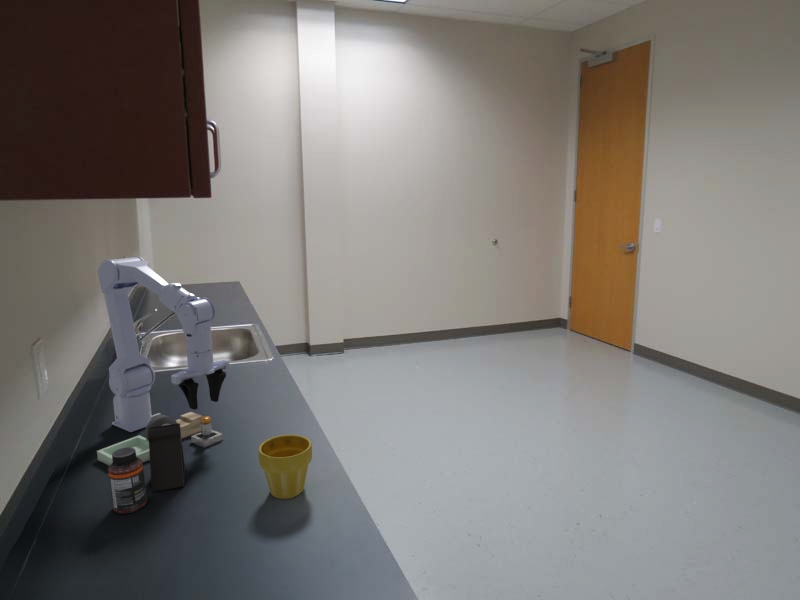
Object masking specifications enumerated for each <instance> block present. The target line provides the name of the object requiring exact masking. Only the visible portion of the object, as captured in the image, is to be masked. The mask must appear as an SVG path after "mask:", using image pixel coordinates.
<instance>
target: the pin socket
mask: <svg viewBox="0 0 800 600" xmlns="http://www.w3.org/2000/svg"><path fill="white" fill-rule="evenodd" d="M223 437H224V435H223V433H221V432H219V431H216V430H213V429H212V437H210V438H208V439H205V440H204V439H202V435H201V431H200V432H197V433H195V434H192V435H190V442H191V443H192V444H195V445H197V446H198V447H202V448H207V447H209V446H212V445H215V444H217V443H218V442H221V441H224V438H223Z"/></svg>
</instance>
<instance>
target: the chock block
mask: <svg viewBox="0 0 800 600" xmlns="http://www.w3.org/2000/svg"><path fill="white" fill-rule="evenodd" d="M201 417H204V416H203V415H201V414H198V413H195V412H192V411H190V412H186V413H184V414H181V415H180V418H179V419H175V420H176V422H177V424H179V423H180V429H181V439H182V440H183V439H184V438H187V437H189V436H190V437H191V436H193V435H195V434H198V433H200V432H201V423H200V418H201Z"/></svg>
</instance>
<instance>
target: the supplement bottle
mask: <svg viewBox="0 0 800 600" xmlns="http://www.w3.org/2000/svg"><path fill="white" fill-rule="evenodd" d="M112 460H113V462H112V463H111V464H110V466H108V468H107V473H108V479H109V480H108V482H109V489H110V495H111V496H110V497H111V504H112V508H113V511H114V512H115V513H117V514H130V513H131V514H132V513H134V512H136V511H139V510H140V509H141V508H143V507H145V506H146V505H147V501H148V498H147V495H148V494H147V487H146V480H145V472H144V470H145V469H144V464H143V462H142V460H141V459H140V458H138V457H136V450H135V449H134V448H121V449H118V450H116V451H115V452H113V454H112Z"/></svg>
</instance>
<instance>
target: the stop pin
mask: <svg viewBox="0 0 800 600" xmlns="http://www.w3.org/2000/svg"><path fill="white" fill-rule="evenodd" d="M211 419H212V417H211V416H209V415H205V416H203V417H201V418H200V423H201V431H200V432H201V435H202V439H204V440H205V439H208V438H210V437H212V430H213V428H212V420H211Z"/></svg>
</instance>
